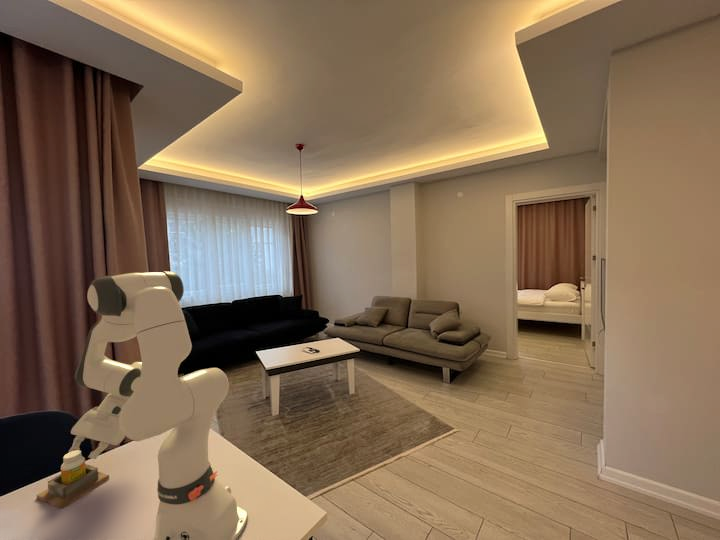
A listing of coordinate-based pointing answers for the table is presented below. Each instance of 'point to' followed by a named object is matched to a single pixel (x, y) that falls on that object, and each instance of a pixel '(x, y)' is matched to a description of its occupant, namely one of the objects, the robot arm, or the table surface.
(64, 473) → the supplement bottle
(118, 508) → the table surface
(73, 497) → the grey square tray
